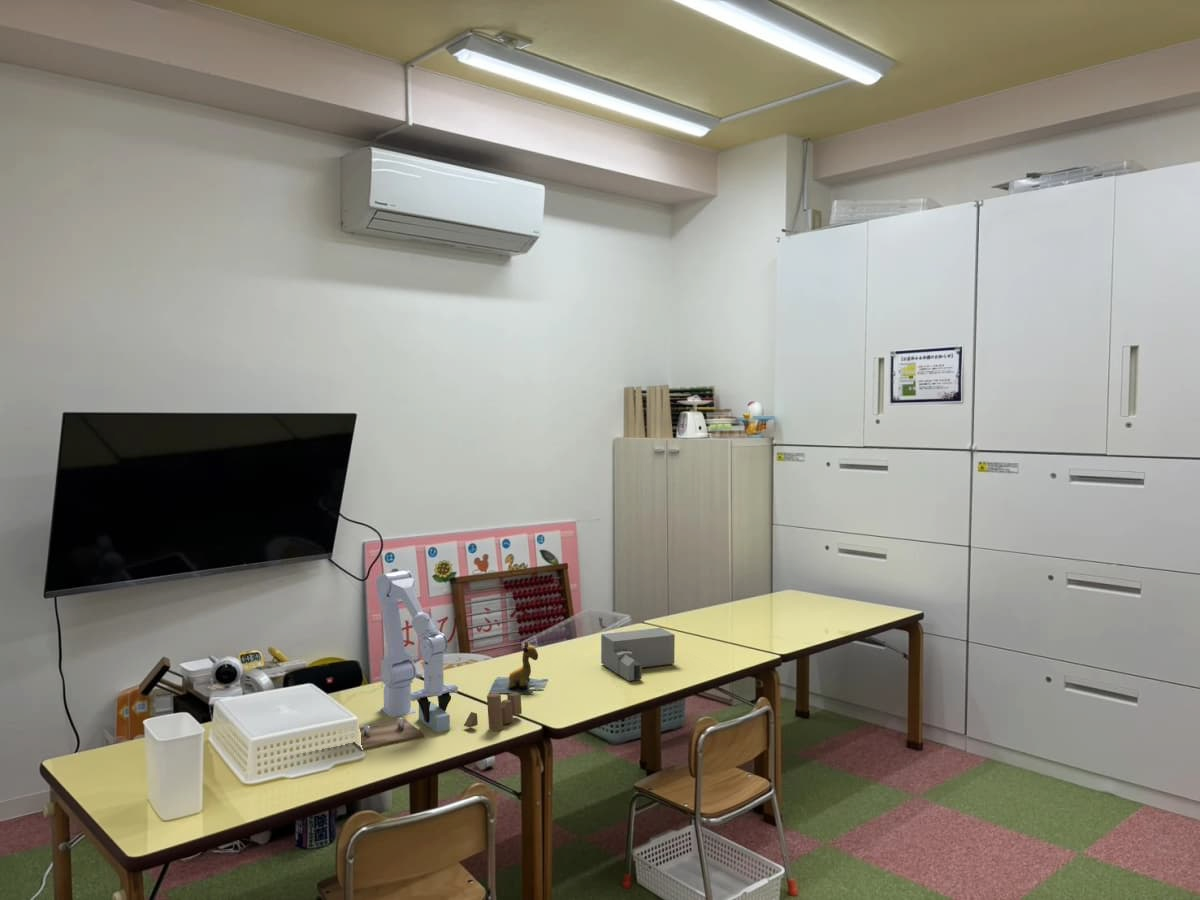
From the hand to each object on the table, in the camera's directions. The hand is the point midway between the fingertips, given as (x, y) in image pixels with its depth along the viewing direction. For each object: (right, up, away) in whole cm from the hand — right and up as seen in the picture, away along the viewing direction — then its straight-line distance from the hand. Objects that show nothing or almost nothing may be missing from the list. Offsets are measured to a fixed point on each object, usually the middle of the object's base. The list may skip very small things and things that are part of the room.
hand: (434, 720), depth 260 cm
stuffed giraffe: (+22, -1, +36) cm, 42 cm away
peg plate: (-13, -2, -9) cm, 16 cm away
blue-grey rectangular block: (0, -2, 0) cm, 2 cm away
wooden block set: (+19, -2, -1) cm, 19 cm away
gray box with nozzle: (+66, 0, +60) cm, 89 cm away
